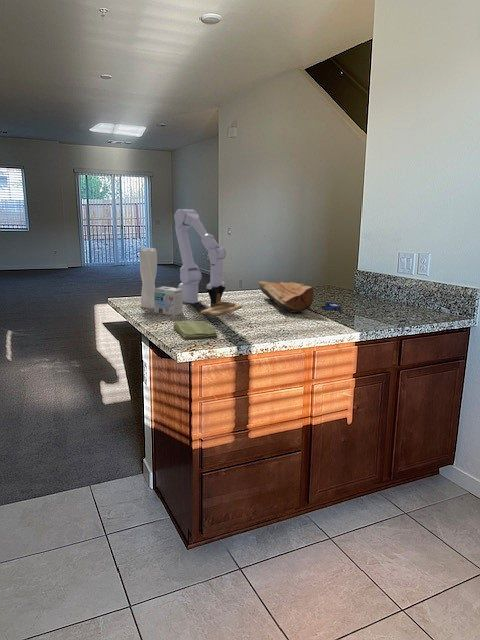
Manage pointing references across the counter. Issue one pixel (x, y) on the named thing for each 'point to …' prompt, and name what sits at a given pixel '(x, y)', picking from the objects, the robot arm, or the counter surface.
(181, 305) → the light bulb box
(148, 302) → the skyscraper
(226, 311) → the board
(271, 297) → the log
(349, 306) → the counter surface
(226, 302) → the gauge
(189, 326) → the washcloth
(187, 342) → the counter surface
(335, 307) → the bar clamp
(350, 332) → the counter surface
